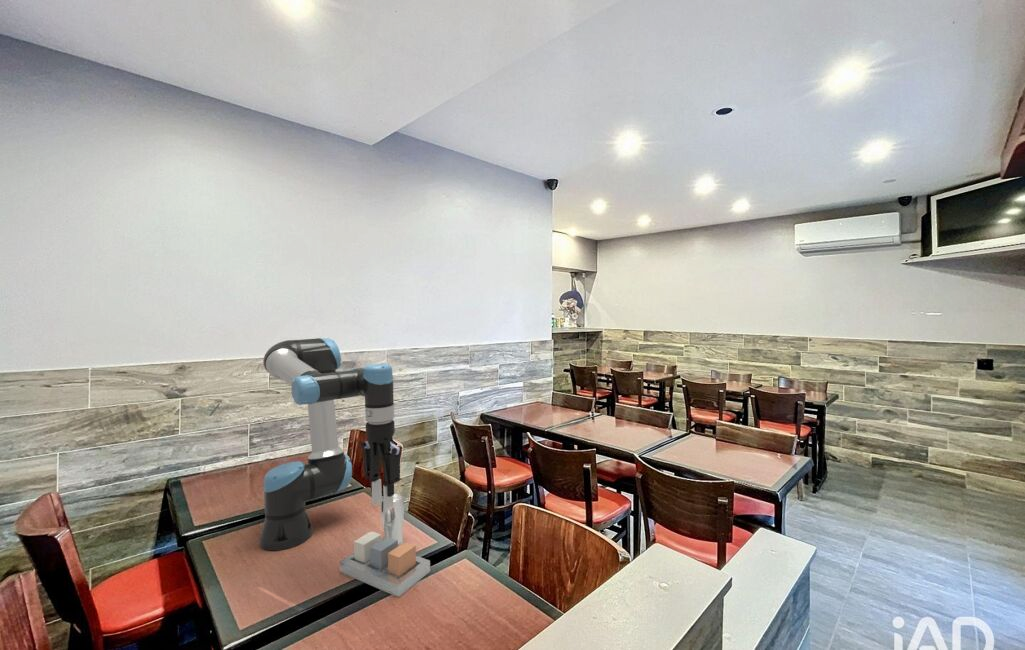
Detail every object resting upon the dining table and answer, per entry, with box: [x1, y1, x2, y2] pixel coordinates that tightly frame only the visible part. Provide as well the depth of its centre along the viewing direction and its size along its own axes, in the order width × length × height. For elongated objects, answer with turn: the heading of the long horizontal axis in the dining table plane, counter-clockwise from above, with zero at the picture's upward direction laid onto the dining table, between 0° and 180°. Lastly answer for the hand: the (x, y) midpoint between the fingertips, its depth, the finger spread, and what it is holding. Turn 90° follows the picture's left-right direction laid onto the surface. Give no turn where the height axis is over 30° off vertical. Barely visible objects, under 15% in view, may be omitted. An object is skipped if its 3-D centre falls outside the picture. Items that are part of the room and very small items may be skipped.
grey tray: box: [339, 552, 431, 598], centre depth 118 cm, size 22×12×4 cm, turn 60°
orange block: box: [388, 541, 417, 576], centre depth 114 cm, size 4×6×5 cm, turn 150°
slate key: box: [370, 537, 399, 570], centre depth 117 cm, size 4×6×5 cm, turn 150°
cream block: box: [353, 531, 382, 563], centre depth 121 cm, size 4×6×5 cm, turn 150°
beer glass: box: [380, 492, 405, 546], centre depth 133 cm, size 7×7×15 cm
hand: (382, 505), depth 117 cm, fingers open, 4 cm apart
